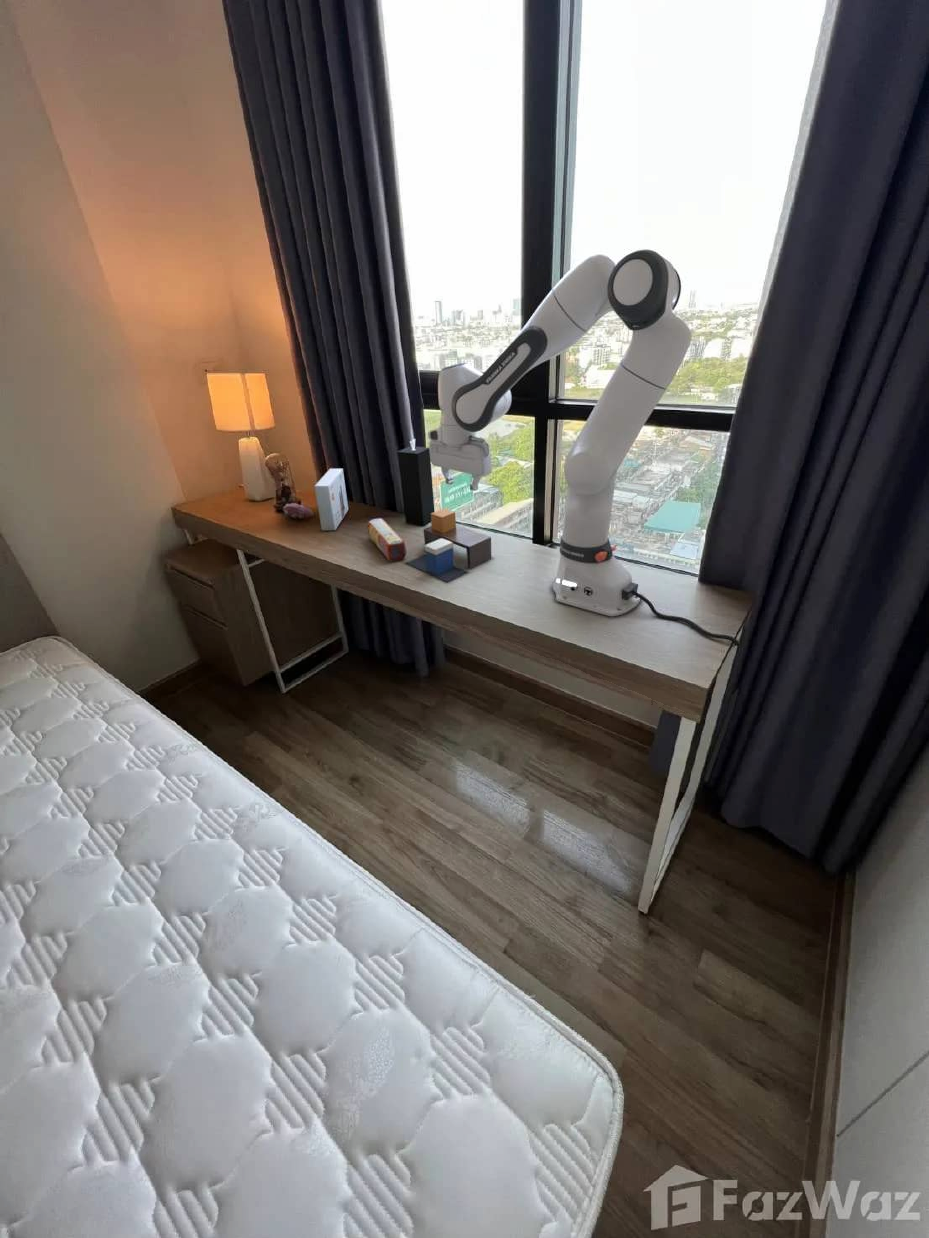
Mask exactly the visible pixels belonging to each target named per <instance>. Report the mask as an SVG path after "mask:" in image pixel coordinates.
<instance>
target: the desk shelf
mask: <svg viewBox="0 0 929 1238" xmlns="http://www.w3.org/2000/svg"><path fill="white" fill-rule="evenodd" d="M422 531H423V540H424V546H425V545H427V544H429V543H431V542H434V541H436V540H438V539H441V538H442V539H445V540H448V541H450V542H452V543H453V544H454V545H456V546H458V547H461V548H463V549H465V550H466V565H467V569H469V570H471V569H473V568H475V567H477V566H479V565H481V564H483V563H486V562H487V561H490V560H491V559H492V537H491V536H490V535H487V534H484V533H482V532H478V531H476V530H472V529H469V528H467V527H464V526H461V525H459V524H456V528H454V529H452V530H449V531H447V532H444V533H441V532H439V531H436V530H433V529H432V525H431V526H427V527H426V528H423V530H422Z"/></svg>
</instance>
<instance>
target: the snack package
mask: <svg viewBox="0 0 929 1238" xmlns="http://www.w3.org/2000/svg"><path fill="white" fill-rule="evenodd" d="M366 530H367V536H368V538H369V539H371V540H372V542H373V543H374V544H375V545H376V547H377V548H378V549H379V550H380V551H381V553H382V554H383V555H384V556H385V557H386V559H387V560H388V561H390V562H391V563H392V562H397V561H399V560H403V559H405V557H406V556H407V547H406V546H407V545H406V542H405V540H403V538H402V537H400V535H398V533H397V532H396V531H395V530H394V529H393V528H392V527H391V526H390V525H389V524H388V523H387V522H386V520H385V519H383V518H373V519H371V520H370V521H368V522H367V524H366Z"/></svg>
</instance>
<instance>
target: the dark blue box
mask: <svg viewBox="0 0 929 1238" xmlns="http://www.w3.org/2000/svg"><path fill="white" fill-rule="evenodd" d="M453 547H454V546H453V543H452V542H450V541H448V540H445V539H442V538H441V539H438V540H436V541H434V542H431V543H429V544H427V545H425V544H424V555H425V556H426V567H427V571H428V572H431V573H433V574H435V575H437V576H438V575H440V574H442V573H444V572H446V571H448V570H450V569H452V568H454V566H455V563H454V561H455V559H454V548H453Z"/></svg>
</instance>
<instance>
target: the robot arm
mask: <svg viewBox="0 0 929 1238" xmlns="http://www.w3.org/2000/svg"><path fill="white" fill-rule="evenodd" d="M681 292H682V281H681V277H680V275H679V273H678V271H677V269H676V268H675V267H674V264H672V262H671V261H670V260H669V259H668V258H666V257H665V256H664V255H661V254H659V253H658V252H657V251H654V250H652V249H647V248H645V249H644V248H643V249H637V250H634V251H631V252H629V253H627V254H625V255H624V256H623V257H621V259H620V260H619V261H618V262H616V260H615V259H614V258H613V257H612V256H611V255H609V254H607V253H606V252H603V251H593V252H590V253H588V254H587V255H586V256H585V257H583V258H582V259H581V260H580V261H579V262H578V263H576V264H575V265H574V266H573V267H572V268H571V269H569V270H568V271H567V273H566V274H564V276H563V277H562V278H561V279H560V280H559V281H558V282H557V283H556V284H555V285H554V287H553V288H552V289H551V290H550V291H549V292H548V294H547V295H546V296H545V297H544V299H543V300H542V301H541V302H540V304H539V305H538V306H537V308H536V309H535V311H534V312H533V313H532V315H531V316H530V318H529V319H528V320H527V321H526V324H525V325H524V326H523V327H522V328H521V330H520V331H519V333H518V334H517V335H516V336H515V338H514V339H513V341H512V342H511V343H510V344H509V345H508V346H507V347H506V349H504V351H503V352H502V353H501V354H500V355H499V356H498V357H497V358H496V360H494V361H493V362H492V363H491V364H490V366H489V367H488V368H487V369H486V370H485V371H484V372H481V371H479V370H477V369H475V368H474V367H473V366H472V365H471V364H470V363H469V362H459V363H455V364H451V365H448V366H445V367H443V368H441V370H440V371H439V374H438V378H437V394H438V395H437V398H438V406H439V410H440V420H439V421H440V422H439V425H440V426H439V427H438V428H435V429H430V430H429V431H428V432H427V438H428V440H430V441H429V444H428V448H429V452H430V460H431V465H432V466H434V467H438V468H441V473H442V475H443V477H444V481H445V484H446V485H453V484H454V482H455V481H454V476H452V474H451V470H452V471H456V472H460V473H464V474H469V475H471V478H472V481H471V482H470V483H469V490H471V491H475V492H476V491H478V490H479V482H480V480H481V479H482V477H486V476H488V475H490V474H491V473H492V471H493V462H492V454H491V450H490V445H489V444H490V443H488V441H487V440H486V439H485V438H484V437H479V436H477V435H476V433H478V432H481V431H482V430H484V429H485V428H486V427H487V426H489V425H490V424H492V423H494V422H496V421H498V420H499V419H501V418H503V416H505V415H506V414H507V413H508V412H509V410H510V408H511V406H512V401H513V395H512V391H511V389H512V388H513V387H514V386H515V385H516V384H517V383H518V382H519V381H520V379H522V377H524V375H526V374H527V373H528V372H529V371H531V370H533V369H534V368H535V367H537V366H539V365H540V364H542V363H544V362H547V361H549V360H551V359H553V358H555V357H557V356H559V355H561V354H563V353H564V352H566V351H568V349H570V348H571V347H573V346H574V345H575V344H576V343H577V342H579V341H580V340H581V339H582V338H583V337H584V336H585V335H586V334H587V333H588V332H589V331H590V330H591V329H592V328H593V326H595V325H596V324H597V322H598V321H599V320H600V319H601V318H603V317H604V316H605V315H607V314H608V313H610V312H614V313H615V314H616V316H617V317H618V318H619V319H620V320H621V321H622V322H623V324H624V325H625V326H626V328H627V329H628V330H629V331H632V335H631V340H630V342H629V344H628V347H627V349H626V351H625V353H624V354H623V356H622V358H621V359H620V362H619V363H618V365H617V366H616V368H615V370H614V372H613V373H612V375H611V377H610V378H609V380H608V382H607V384H606V386H605V388H604V389H603V391H602V393H601V394H600V397H599V398H598V400H597V402H596V403H595V405H594V406H593V409H592V411H591V413H590V414H589V416H588V418H587V420H586V421H585V423H584V425H583V427H582V428H581V430H580V432H579V434H578V435H577V438H576V439H575V441H574V442H573V444H572V446H571V448H570V450H569V451H568V453H567V455H566V457H565V460H564V463H563V474H564V480H565V482H566V484H567V488H566V495H565V502H564V503H565V504H564V507H563V508H564V509H563V521H562V535H561V536H560V539H559V540H560V542H559V554H560V557H559V562H558V567H557V571H556V575H555V579H554V581H553V584H552V590H553V592H554V593H555V595H556V596H555V600H556V602H558V603H561V604H565V605H568V606H572V607H576V608H579V609H582V610H585V611H590V612H593V613H596V614H599V615H604V616H608V617H617V616H621V615H624V614H626V613H628V612H630V611H631V610H633V609H634V608H635V607H637V606H638V604H639V603H640V602H641V601H643V602H644V603H645V604H647V606H648V607H649V609H650V611H651V612H652V613H653V615H655V616H656V617H658V618H660V619H665V620H670V621H678V622H682V623H686V624H687V625H689V626H690V627H692V628H693V629H695V630H696V631H698V632H699V633H701V634H703V635H705V636H707V637H710V638H714V639H721V640H728V641H730V642H732V643H733V644H734V645H735V646H736V647H739V648H741V647H742V644H741V643H740V641H739V640H738V639H737V638H735V637H733V636H731V635H727V634H722V633H721V634H720V633H714V632H710V631H708V630H705V629H704V628H702V627H701V626H699V624H697V623H695V622H694V621H692V620H690V619H687V618H685V617H682V616H676V615H667V614H664V613H661V612H659V611H657V610H656V607H655V606H654V605H653V603H652V602H651V601H650V599H648V598H647V597H646V596H643V595H642V594H641V592H640V591H639V584H638V583H635V582H633V577H632V574H631V573H630V572H629V571H628V570H627V569H626V568H625V567H624V566H623V564H622V563H620V561H619V560H618V559H617V558H616V557H615V556H614V553H613V552H614V551H616V550H617V548H618V547H617V546H618V544H614V545H613V546H612V545H611V542H610V538H609V532H610V524H611V516H612V508H613V501H614V494H615V488H616V487H615V486H616V480H617V472H618V470H619V468H620V467H621V465H622V463H623V462H624V460H625V458H626V457H627V455H628V453H629V452H630V450H631V448H632V446H633V444H634V443H635V441H636V439H637V438H638V436H639V434H640V433H641V430H642V429H643V427H644V425H645V424H646V422H647V421H648V419H649V418H650V416H651V414H653V411H654V410H655V409H656V407H657V405H658V404H659V402H660V400H661V399H662V398H663V396H664V394H665V393H666V392H667V389H668V388H669V386H670V385H671V383H672V381H674V379H675V376H676V375H677V373H678V371H679V369H680V367H681V365H682V363H683V362H684V359H685V357H686V354H687V352H688V350H689V347H690V345H691V342H692V332H691V329H690V326H689V325H688V323H686V322H685V320H684V319H682V318H681V317H680V316H678V315H676V314H675V312H674V310H675V309H676V307H677V305H678V303H679V300H680V298H681V294H682V293H681ZM738 691H739V688H737V689H736V690H735V691H734V693H732V695H731V697H730V702H729V705H728V709H727V712H726V716H725V718H724V721H723V724H722V728H721V729H720V732H719V734H718V738H717V740H716V743H715V745H714V749H713V751H712V755H711V757H710V761H709V763H708V766H707V769H706V773H705V776H704V779H703V780H704V782H709V780H710V776H711V773H712V770H713V767H714V763H715V761H716V758H717V755H718V752H719V750H720V747H721V744H722V742H723V738H724V736H725V734H726V731H727V728H728V725H729V722H730V720H731V717H732V713H733V710H734V707H735V703H736V700H737V696H738Z"/></svg>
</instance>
